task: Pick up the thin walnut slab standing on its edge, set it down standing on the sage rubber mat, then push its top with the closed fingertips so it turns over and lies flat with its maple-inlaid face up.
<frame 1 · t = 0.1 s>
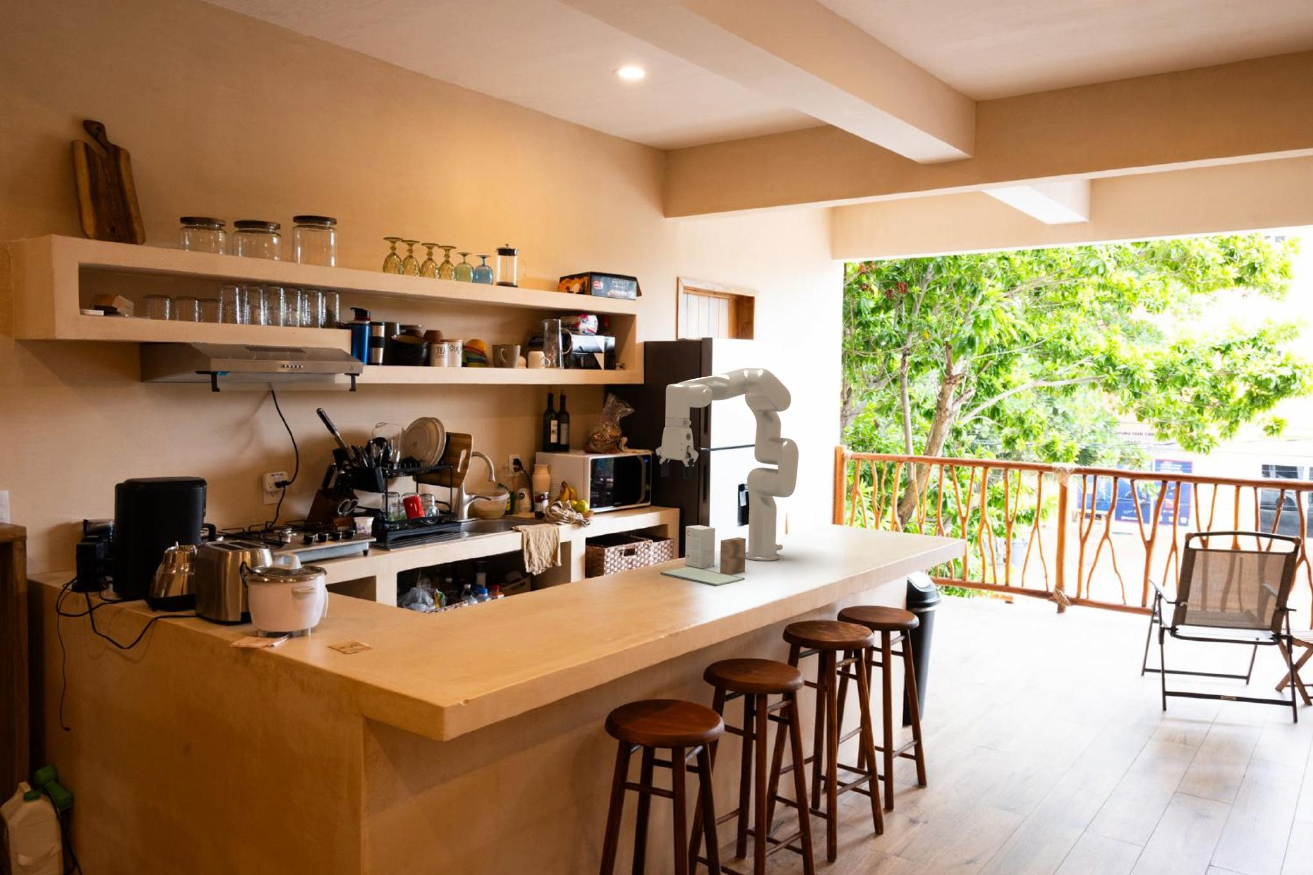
hand: (676, 477, 303), 31 cm above the countertop, fingers open, 9 cm apart
mat: (702, 576, 304), on the countertop
slab: (732, 573, 311), on the countertop
small box: (699, 566, 322), on the countertop
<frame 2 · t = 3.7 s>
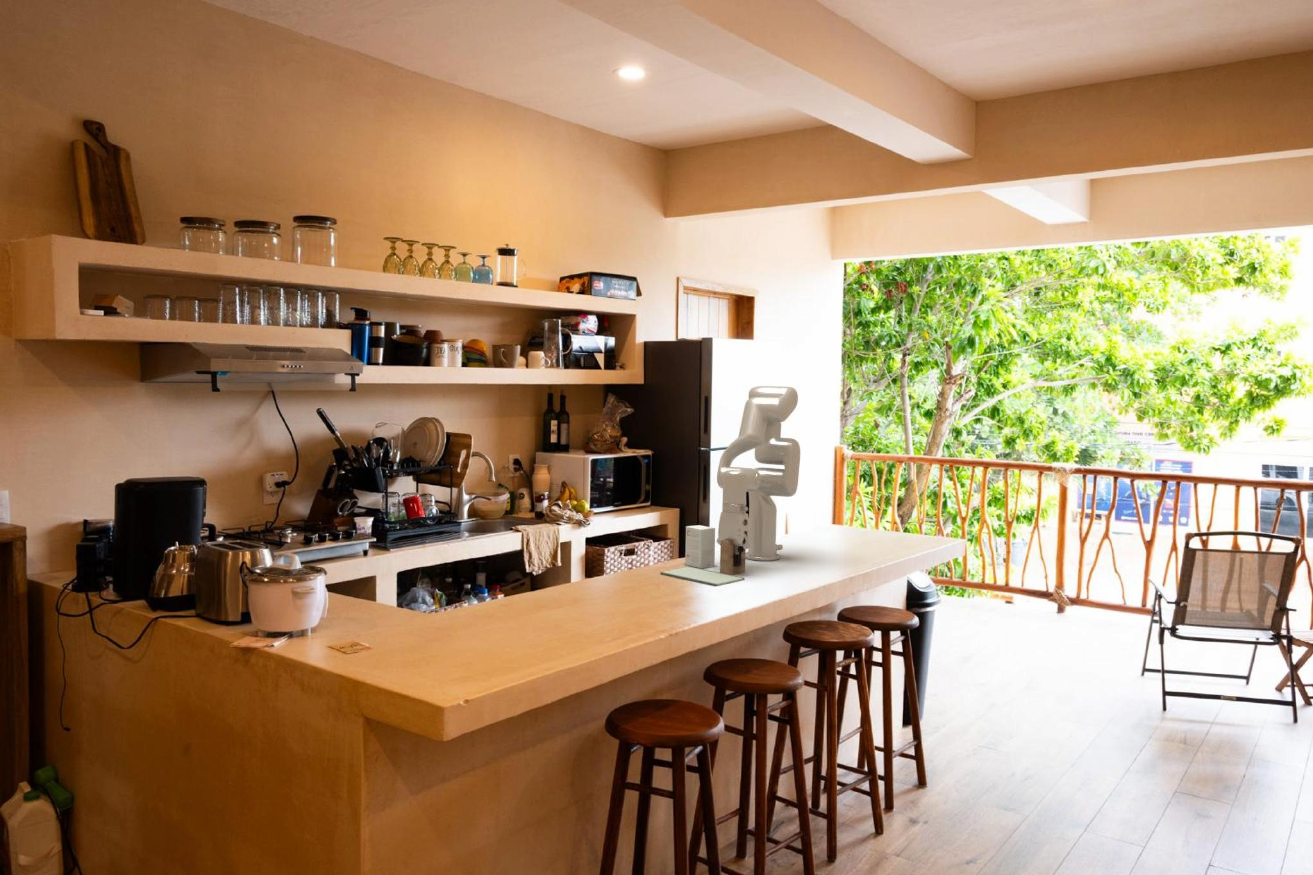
hand: (732, 564, 311), 3 cm above the countertop, fingers closed on slab, 3 cm apart
slab: (732, 573, 311), on the countertop, touching gripper
everything else where it was.
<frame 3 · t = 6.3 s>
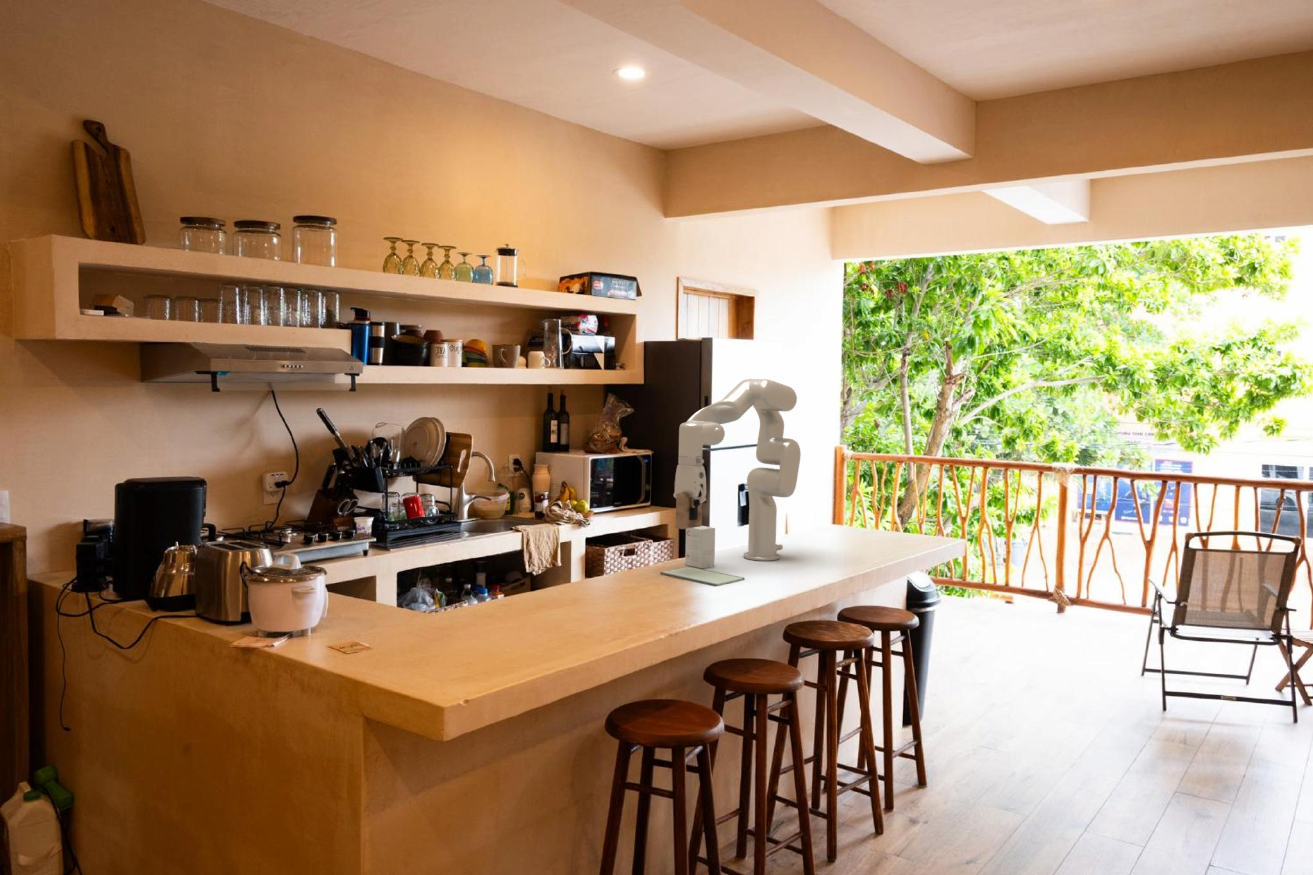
hand: (689, 518, 307), 18 cm above the countertop, fingers closed on slab, 3 cm apart
slab: (688, 527, 307), point 15 cm above the countertop, touching gripper
everything else where it was.
when the fingers open (4 cm above the countertop, at t = 8.9 s): slab stays where it is, resting on mat.
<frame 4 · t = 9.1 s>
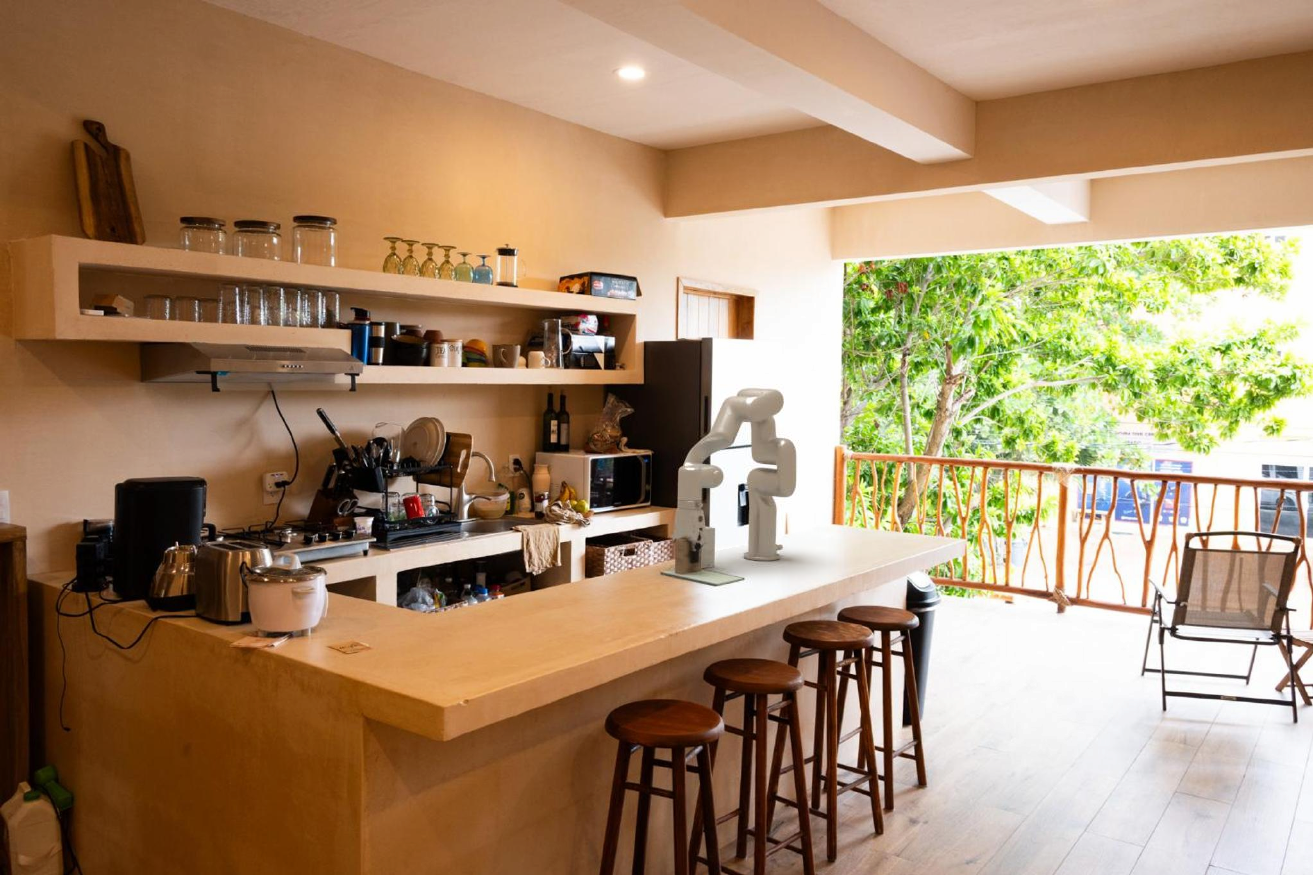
hand: (688, 561, 308), 4 cm above the countertop, fingers open, 4 cm apart
slab: (688, 572, 308), point 1 cm above the countertop, touching mat
everything else where it was.
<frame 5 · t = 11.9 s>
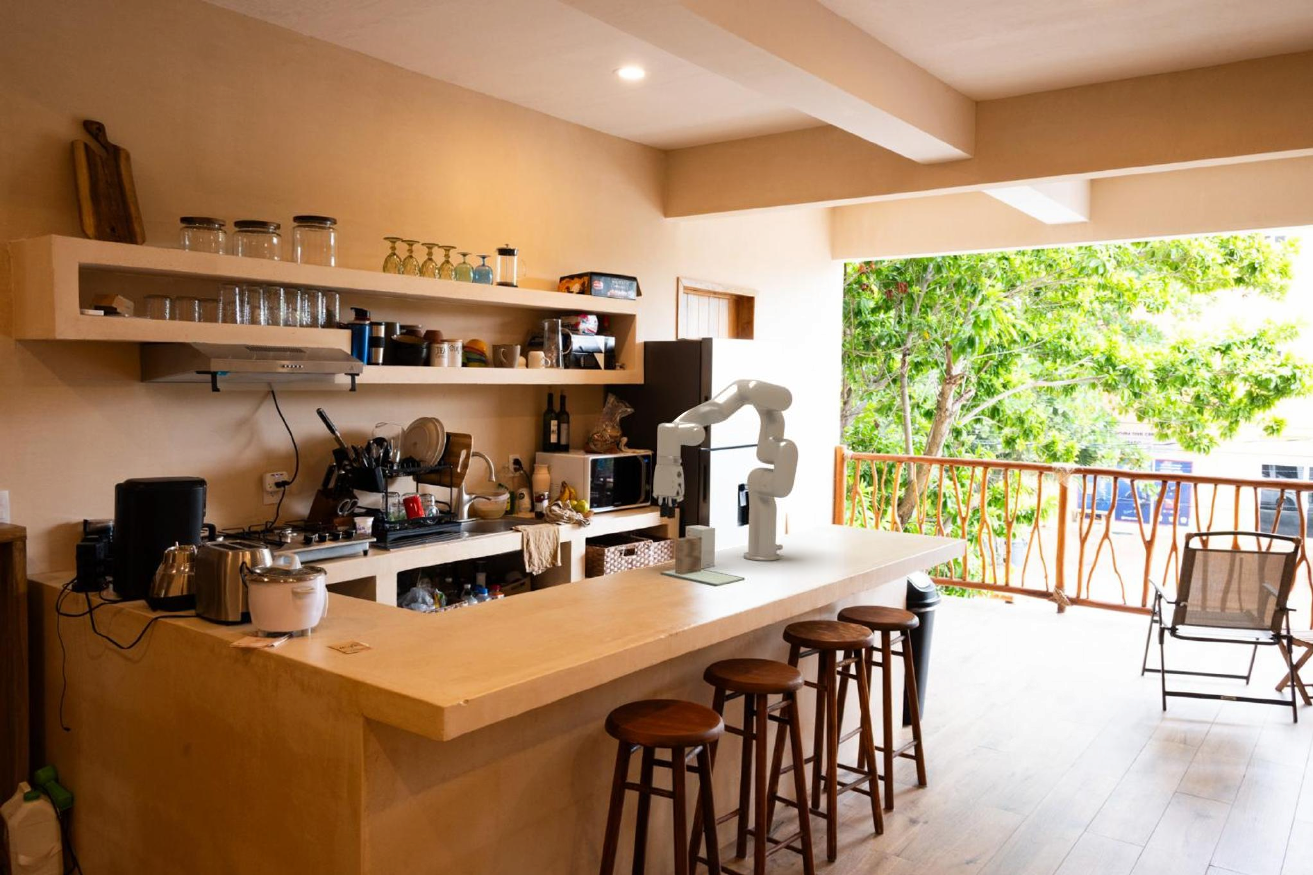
hand: (667, 517, 313), 17 cm above the countertop, fingers closed
nothing on the countertop moved.
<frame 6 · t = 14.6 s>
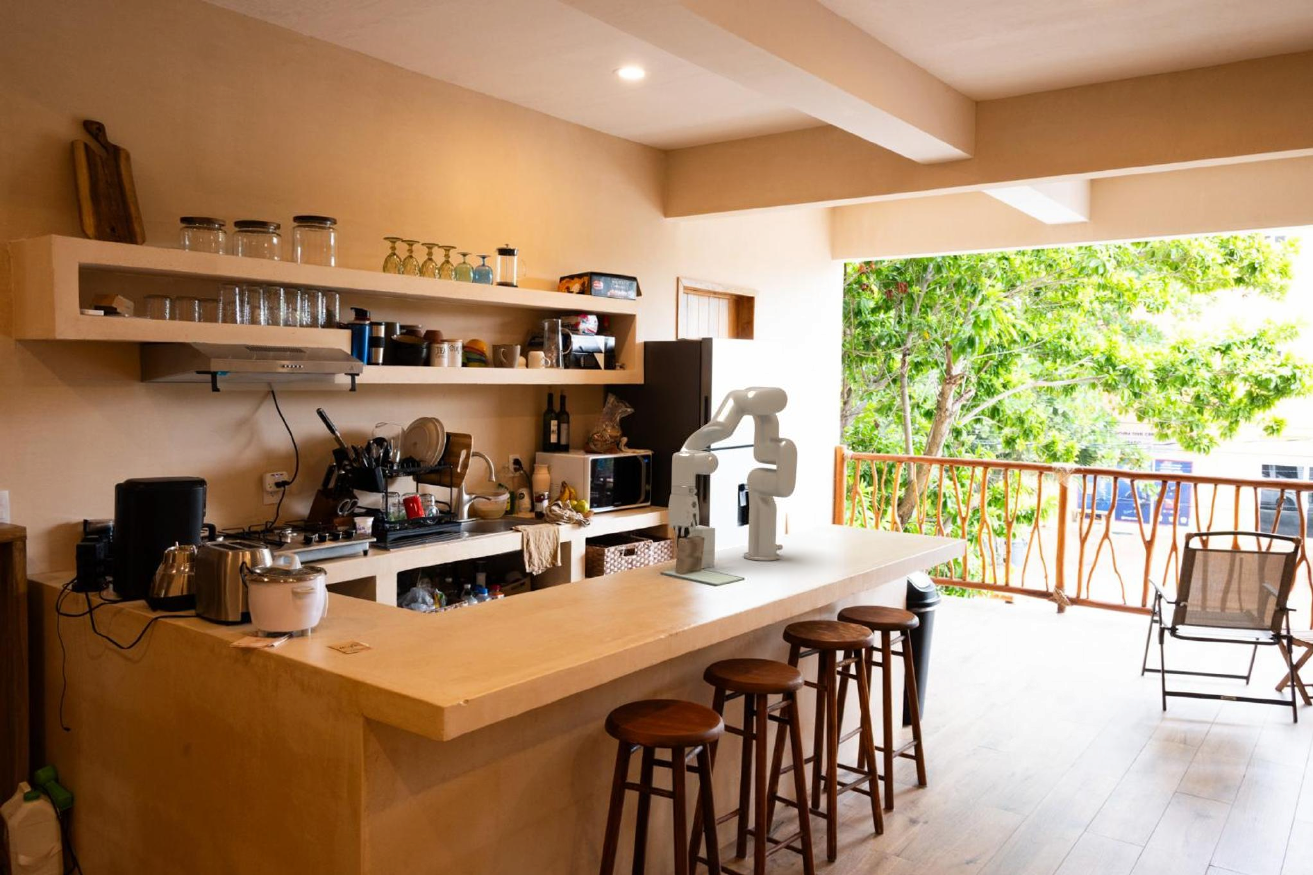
hand: (682, 547, 309), 8 cm above the countertop, fingers closed
slab: (688, 571, 308), point 1 cm above the countertop, tilted 7°, touching mat
everything else where it was.
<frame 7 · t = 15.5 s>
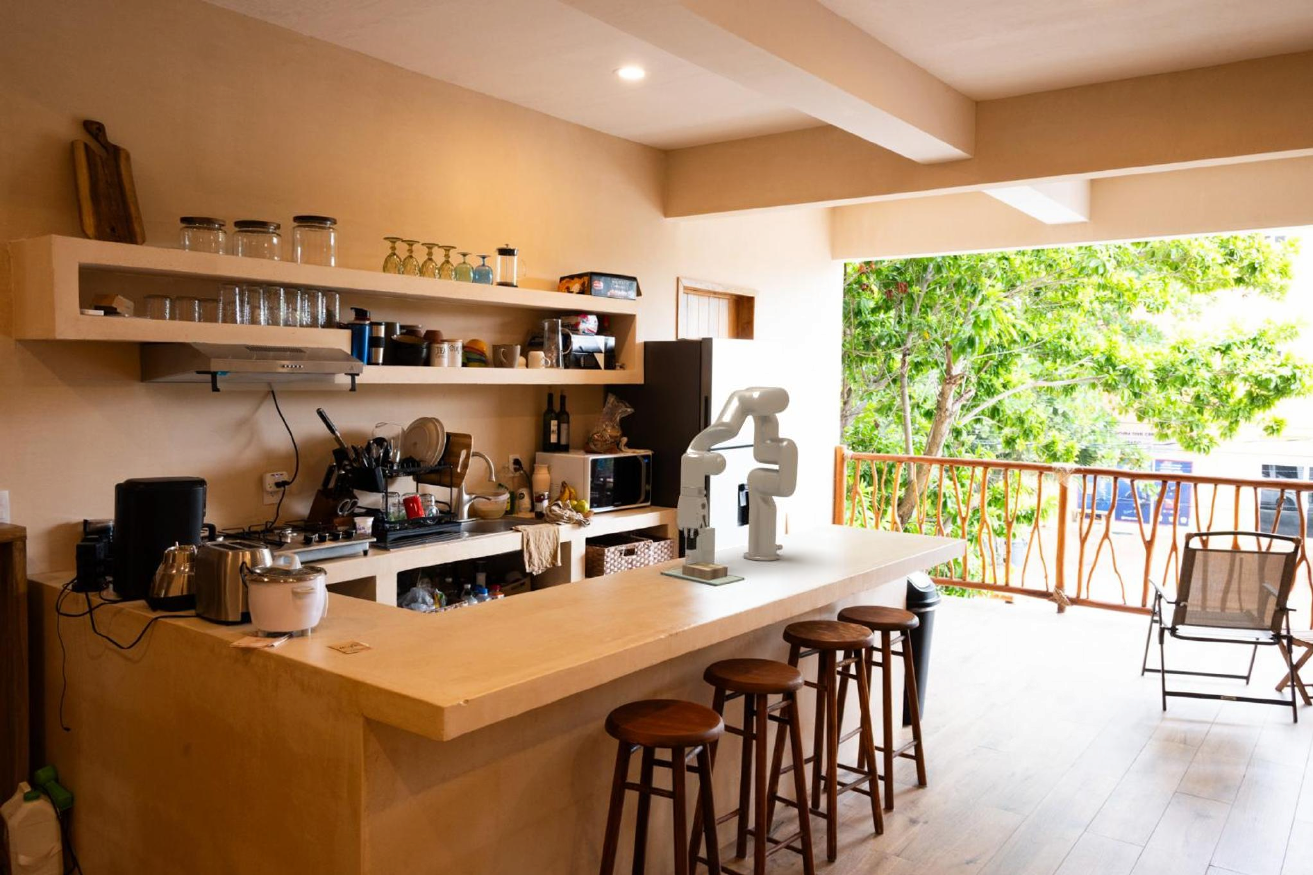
hand: (691, 549, 307), 8 cm above the countertop, fingers closed
slab: (691, 568, 307), point 2 cm above the countertop, tilted 90°, touching mat
everything else where it was.
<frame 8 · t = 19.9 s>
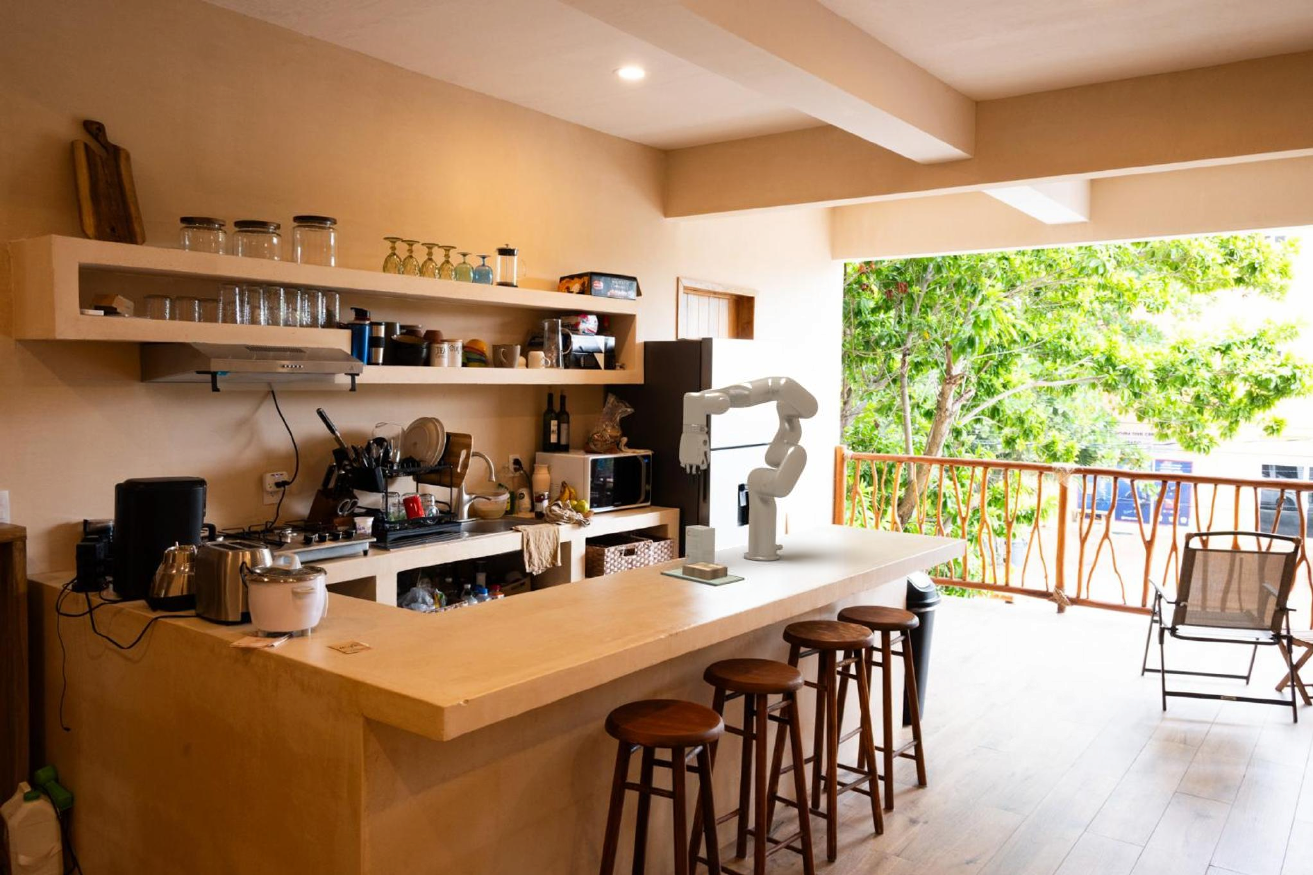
hand: (693, 485, 319), 27 cm above the countertop, fingers closed
nothing on the countertop moved.
at the end: slab tilted 90°; slab 4.4 cm from the mat (horizontally); the gripper is holding nothing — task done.
